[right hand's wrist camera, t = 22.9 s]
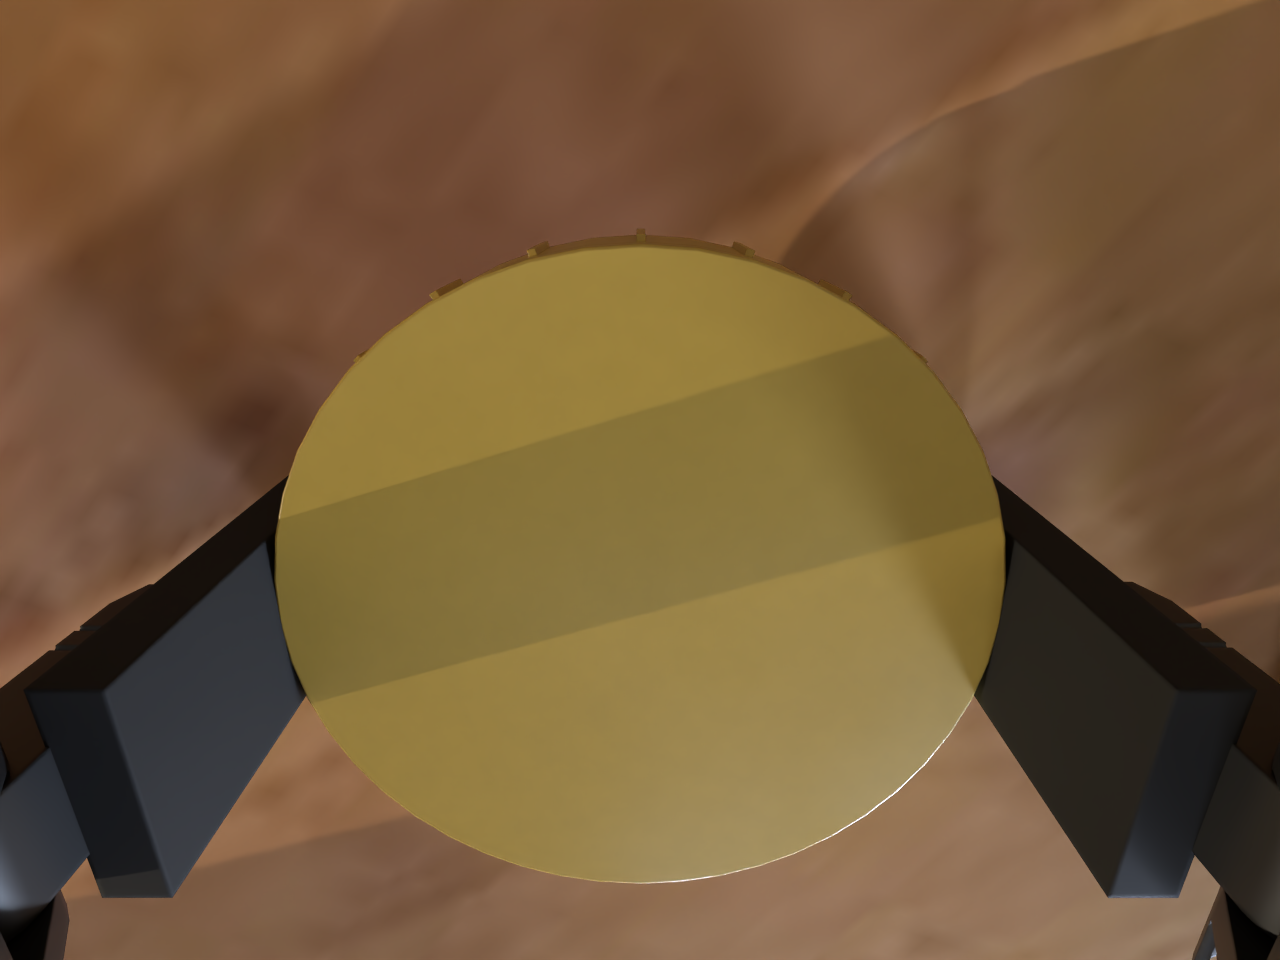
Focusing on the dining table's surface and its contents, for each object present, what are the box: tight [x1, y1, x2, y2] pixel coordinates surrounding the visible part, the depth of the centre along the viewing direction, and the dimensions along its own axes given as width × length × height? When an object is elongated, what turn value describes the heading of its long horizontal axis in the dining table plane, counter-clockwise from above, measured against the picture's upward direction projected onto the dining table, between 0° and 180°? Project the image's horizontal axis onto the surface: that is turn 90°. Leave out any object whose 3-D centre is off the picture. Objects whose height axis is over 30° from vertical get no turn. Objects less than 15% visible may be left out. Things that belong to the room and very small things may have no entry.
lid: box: [274, 229, 1006, 883], centre depth 11 cm, size 10×10×2 cm
